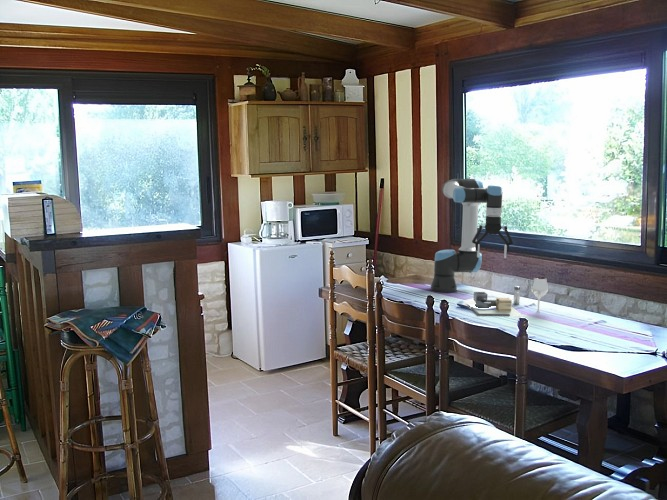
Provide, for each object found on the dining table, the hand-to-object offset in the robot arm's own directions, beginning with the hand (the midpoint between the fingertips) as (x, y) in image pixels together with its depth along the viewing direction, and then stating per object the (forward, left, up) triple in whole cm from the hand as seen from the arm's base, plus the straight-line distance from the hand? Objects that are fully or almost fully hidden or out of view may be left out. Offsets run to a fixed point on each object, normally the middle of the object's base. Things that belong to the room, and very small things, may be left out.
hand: (491, 257), depth 354 cm
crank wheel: (-3, +2, -26) cm, 26 cm away
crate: (+5, +6, -26) cm, 27 cm away
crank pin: (-10, +17, -27) cm, 33 cm away
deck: (+4, +2, -27) cm, 27 cm away
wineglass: (+8, +23, -27) cm, 36 cm away
